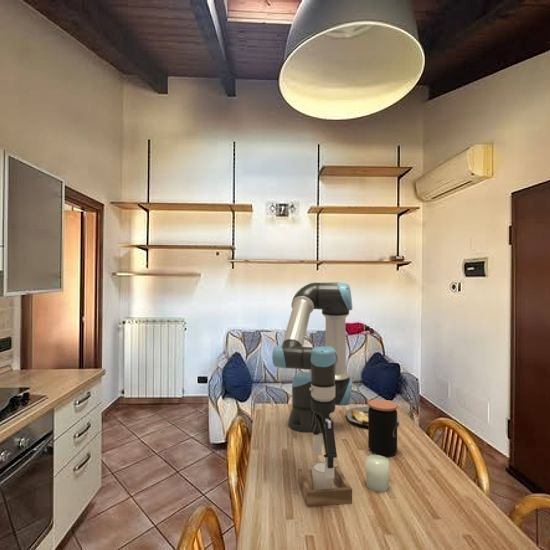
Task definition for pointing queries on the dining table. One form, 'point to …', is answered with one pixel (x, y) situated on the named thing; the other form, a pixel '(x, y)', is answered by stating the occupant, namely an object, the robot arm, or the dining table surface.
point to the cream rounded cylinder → (377, 473)
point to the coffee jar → (382, 427)
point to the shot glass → (320, 477)
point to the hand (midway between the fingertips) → (322, 465)
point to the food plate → (359, 415)
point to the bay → (326, 491)
